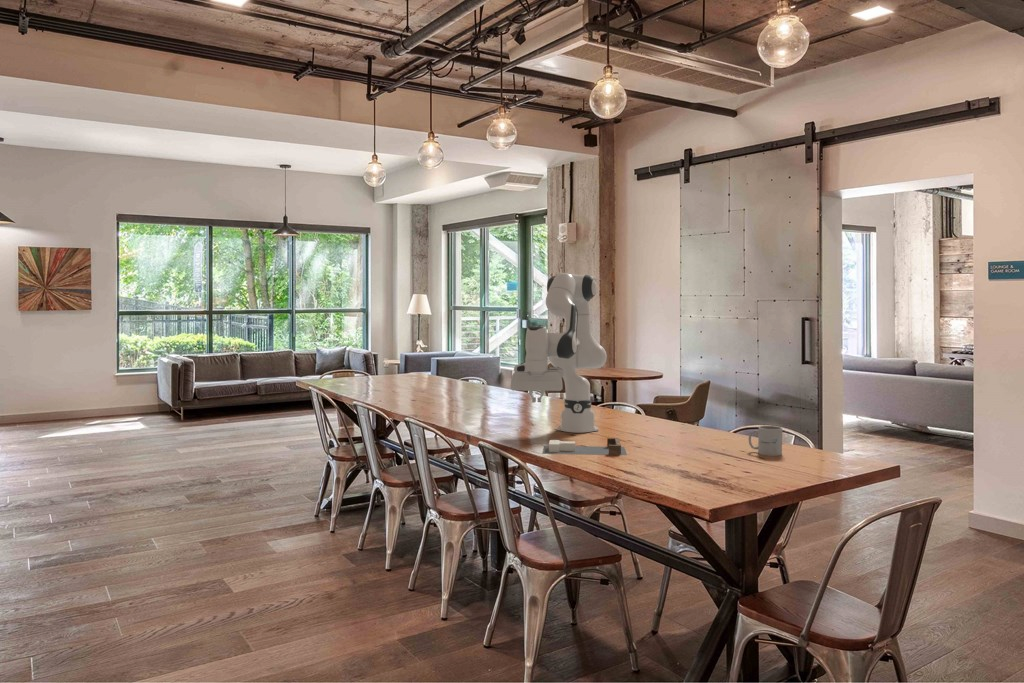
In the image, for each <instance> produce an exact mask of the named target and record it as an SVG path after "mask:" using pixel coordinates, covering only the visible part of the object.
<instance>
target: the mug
mask: <svg viewBox="0 0 1024 683" xmlns="http://www.w3.org/2000/svg"><path fill="white" fill-rule="evenodd" d="M755 433H756V434H758V438H757V439H758V442H757V443H758V444H757V446H755V445H753V443H752V436H753V434H755ZM748 445H749V446H750V448H751V449H753V450H758V451H757V452H758V453H757V454H759V455H761V456H768V457H769V456H771V457H777V456H782V455H783V427H780V426H776V425H775V426H774V425H759V426H758V429H754V430H752V431H751V432H750V433H749V435H748Z"/></svg>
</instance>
